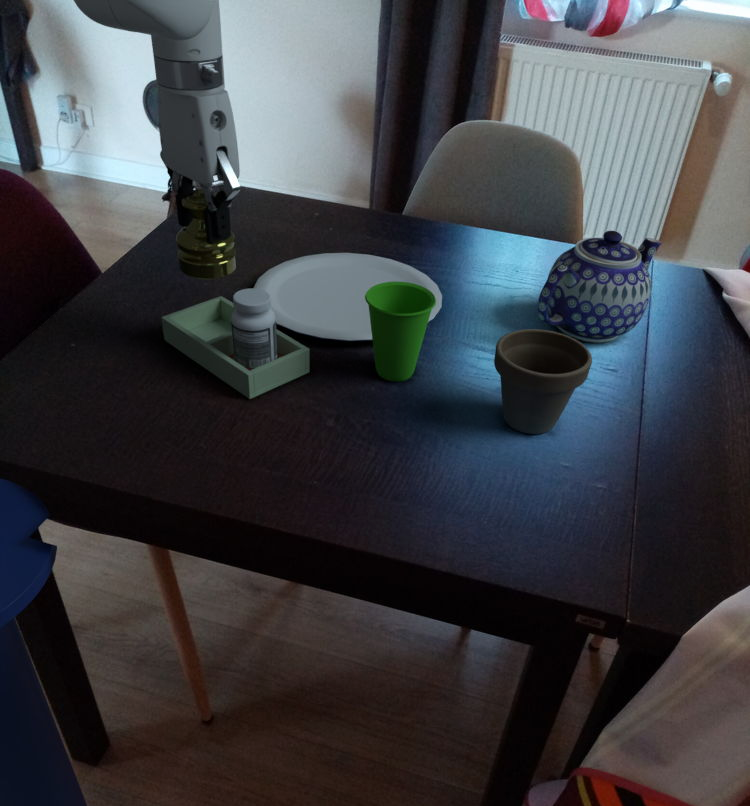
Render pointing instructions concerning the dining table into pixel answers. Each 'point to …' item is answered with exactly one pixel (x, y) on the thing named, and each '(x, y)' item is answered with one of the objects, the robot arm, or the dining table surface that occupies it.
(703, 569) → the dining table surface
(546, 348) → the flower pot
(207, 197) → the robot arm
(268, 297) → the pill bottle
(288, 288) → the plate
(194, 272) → the brass tiered cylinder
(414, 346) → the cup
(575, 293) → the teapot
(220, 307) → the tray
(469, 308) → the dining table surface
